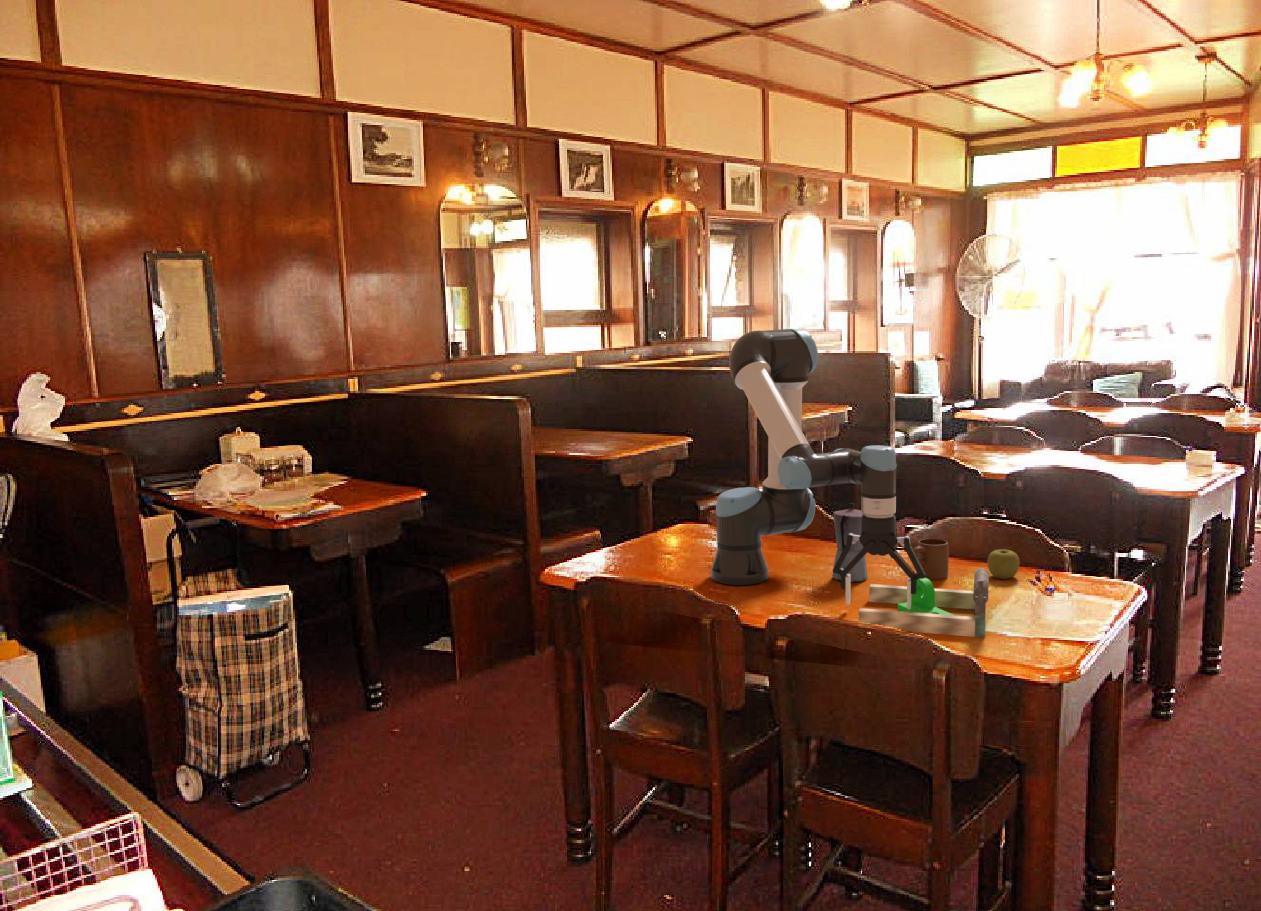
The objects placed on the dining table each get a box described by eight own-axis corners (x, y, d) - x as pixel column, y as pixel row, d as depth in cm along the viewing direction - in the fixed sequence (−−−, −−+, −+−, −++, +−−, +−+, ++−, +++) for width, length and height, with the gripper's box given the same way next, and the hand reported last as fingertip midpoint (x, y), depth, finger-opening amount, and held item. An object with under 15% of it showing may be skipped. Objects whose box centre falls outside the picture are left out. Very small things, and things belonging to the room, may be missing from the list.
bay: (857, 630, 204) (857, 573, 202) (870, 599, 225) (870, 547, 223) (987, 641, 195) (988, 581, 193) (987, 608, 215) (989, 554, 213)
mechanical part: (897, 612, 216) (897, 578, 215) (918, 608, 218) (919, 575, 217) (931, 627, 205) (931, 592, 204) (953, 623, 207) (954, 588, 206)
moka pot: (874, 572, 247) (874, 499, 244) (863, 589, 234) (863, 511, 231) (838, 569, 251) (838, 497, 248) (825, 585, 238) (824, 509, 235)
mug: (924, 586, 234) (925, 549, 233) (900, 579, 240) (900, 544, 239) (954, 577, 241) (954, 541, 239) (929, 571, 247) (930, 536, 246)
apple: (982, 579, 238) (982, 552, 237) (994, 572, 244) (995, 545, 243) (1012, 584, 233) (1012, 556, 232) (1024, 577, 239) (1024, 550, 238)
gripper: (820, 515, 211) (820, 605, 215) (935, 520, 202) (934, 614, 206) (825, 508, 218) (826, 596, 222) (937, 513, 209) (936, 604, 213)
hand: (878, 605), depth 214 cm, fingers open, 13 cm apart
